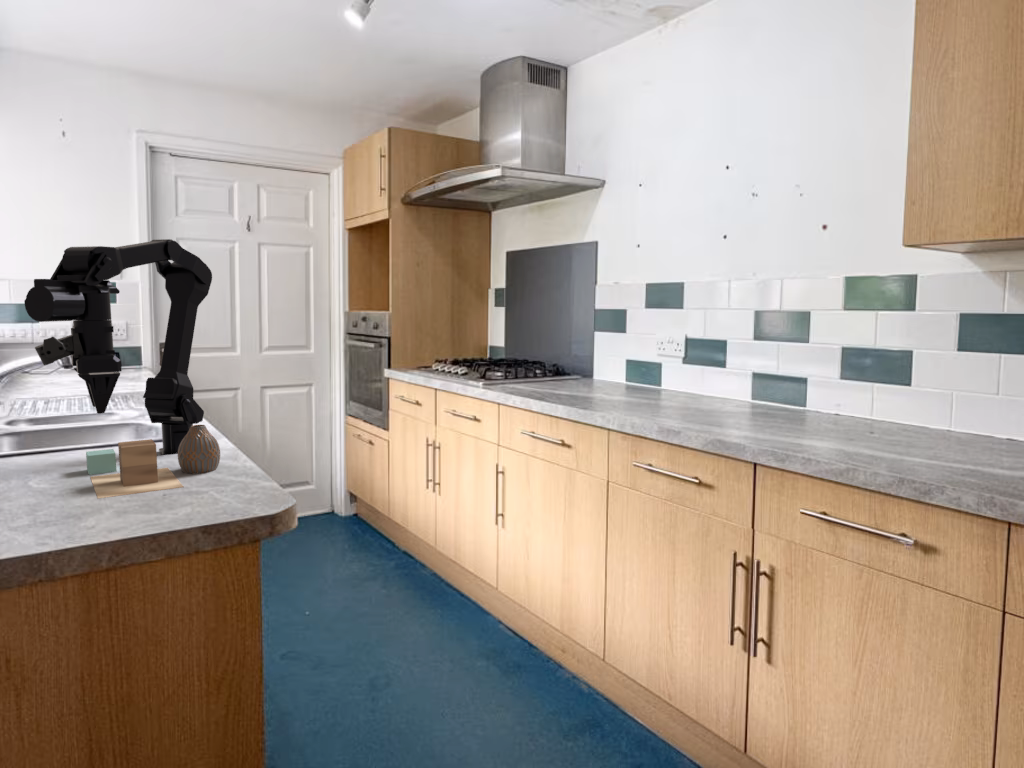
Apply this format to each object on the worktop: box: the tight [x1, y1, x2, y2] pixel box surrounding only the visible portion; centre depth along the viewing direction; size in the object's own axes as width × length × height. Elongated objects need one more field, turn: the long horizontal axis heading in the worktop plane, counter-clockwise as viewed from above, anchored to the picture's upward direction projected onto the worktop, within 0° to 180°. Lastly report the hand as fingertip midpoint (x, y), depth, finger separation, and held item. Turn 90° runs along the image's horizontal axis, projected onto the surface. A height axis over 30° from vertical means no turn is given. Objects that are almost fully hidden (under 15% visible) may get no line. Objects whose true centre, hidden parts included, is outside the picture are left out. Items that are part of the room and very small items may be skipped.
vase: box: [177, 424, 221, 475], centre depth 125 cm, size 7×7×9 cm
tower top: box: [117, 438, 158, 467], centre depth 116 cm, size 5×5×3 cm
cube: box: [85, 448, 118, 476], centre depth 124 cm, size 4×4×4 cm
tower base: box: [118, 461, 158, 487], centre depth 117 cm, size 5×5×3 cm
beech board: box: [90, 467, 185, 500], centre depth 117 cm, size 16×12×1 cm
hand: (98, 409), depth 123 cm, fingers open, 9 cm apart
